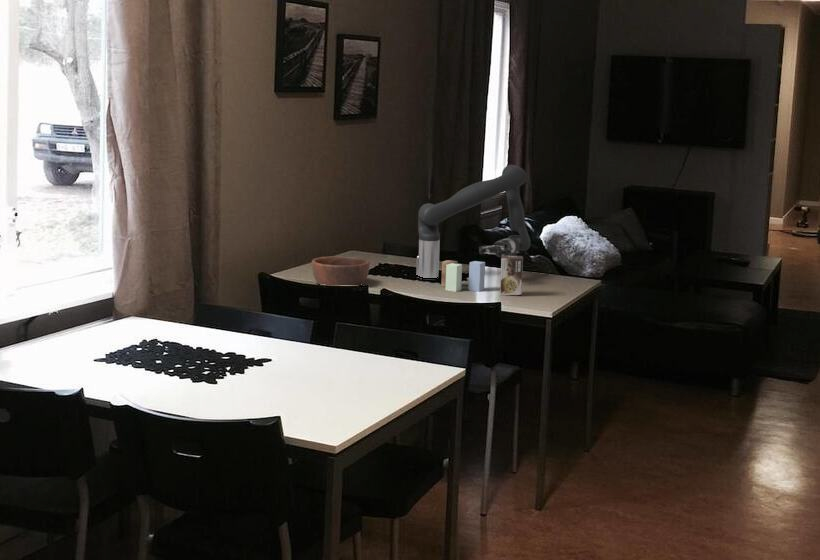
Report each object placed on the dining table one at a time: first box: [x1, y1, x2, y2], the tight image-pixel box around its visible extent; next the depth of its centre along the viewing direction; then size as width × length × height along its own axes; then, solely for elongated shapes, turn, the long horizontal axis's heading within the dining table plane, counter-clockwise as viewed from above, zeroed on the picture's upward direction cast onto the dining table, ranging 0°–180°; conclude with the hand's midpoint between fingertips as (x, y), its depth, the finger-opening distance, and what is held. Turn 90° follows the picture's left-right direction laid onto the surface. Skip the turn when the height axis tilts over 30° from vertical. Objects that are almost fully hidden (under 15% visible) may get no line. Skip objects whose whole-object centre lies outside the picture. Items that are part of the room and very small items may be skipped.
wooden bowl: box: [311, 255, 371, 286], centre depth 473 cm, size 25×25×10 cm
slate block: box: [468, 260, 486, 292], centre depth 467 cm, size 5×5×12 cm
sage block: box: [444, 263, 463, 293], centre depth 466 cm, size 5×5×11 cm
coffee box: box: [499, 255, 524, 295], centre depth 459 cm, size 9×6×16 cm
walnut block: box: [440, 259, 459, 288], centre depth 473 cm, size 5×5×11 cm
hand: (489, 252), depth 475 cm, fingers open, 8 cm apart
